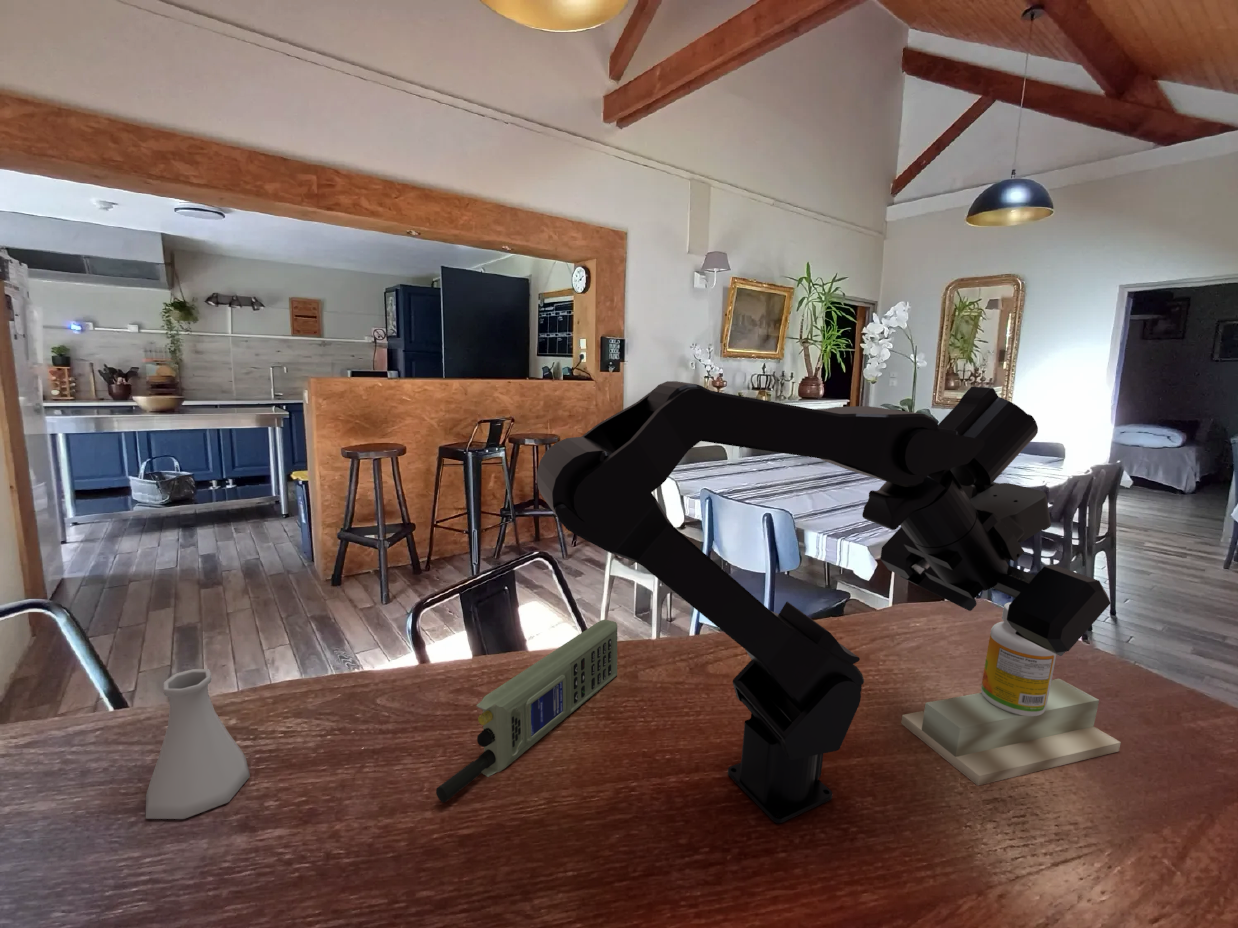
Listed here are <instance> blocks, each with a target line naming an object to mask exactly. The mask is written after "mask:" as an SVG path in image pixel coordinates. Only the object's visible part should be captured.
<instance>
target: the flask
mask: <svg viewBox="0 0 1238 928" xmlns="http://www.w3.org/2000/svg"><path fill="white" fill-rule="evenodd" d="M211 682H212V674H211V669H209V668H207V669H206V668H192V669H189V670H184V671H180V672H177V673H173V675H171V676H170V677H168V678H167V679H166V680H164V681H163V682H162V691H163V696H165V697H168V701H169V703H168V705H169V711H168V712H169V713H168V722H167V728H166V731H165V735H164V738H163V741H162V745H161V748H160V752H159V755H158V757H157V761H156V764H155V767H154V770H153V773H152V775H151V778H150V782H149V784H148V788H147V791H146V795H145V819H152V820H153V819H154V820H155V819H156V820H157V819H158V820H159V819H160V820H161V819H162V820H167V819H168V820H174V819H175V820H185V819H188V818H190V817H193V816H196V815H198V814H200V813H201V814H202V813H204V812H206V811H210V810H212V809H215V808H217V807H219V806H222V805H224V804H227V803H229V802H230V801H231V800H232V799H233V797H235V795H236V794H237V792H238V791H240V789H241V788H242V786H243V785H244V784H245V783H246V782H247V780H248V779H249V778H251V777H250V776H251V775H250V769H249V765H248V762H247V757H246V755H245V754H244V753H243V750H242V749H241V748H240V746H239V745H238V744H237V743H236V741H235V739H234V738H233V737H232V736H231V734H230V733H229V730H228V729H227V728H226V726H225V725H224V723H223V722H222V721H221V719H220V717H219V715H218V713H217V712H216V710H215V708H214V705H213V702H212V700H211V697H210V694H209V685H210V683H211Z"/></svg>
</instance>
